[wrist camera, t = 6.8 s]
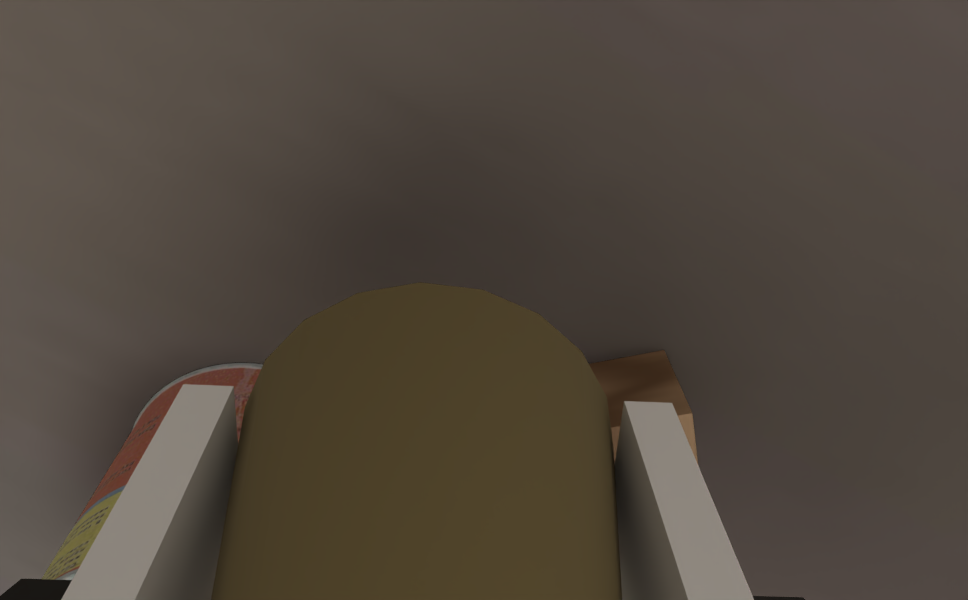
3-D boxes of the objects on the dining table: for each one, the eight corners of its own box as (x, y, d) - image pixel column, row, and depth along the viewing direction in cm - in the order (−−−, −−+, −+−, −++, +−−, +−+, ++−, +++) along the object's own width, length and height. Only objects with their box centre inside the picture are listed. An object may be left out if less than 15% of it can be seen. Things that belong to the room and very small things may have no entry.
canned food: (223, 596, 42) (140, 839, 31) (76, 426, 38) (-79, 642, 27) (423, 510, 40) (410, 738, 29) (294, 321, 36) (222, 507, 25)
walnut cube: (663, 349, 37) (692, 413, 32) (675, 442, 39) (703, 515, 34) (549, 370, 37) (561, 436, 32) (567, 462, 39) (581, 536, 35)
